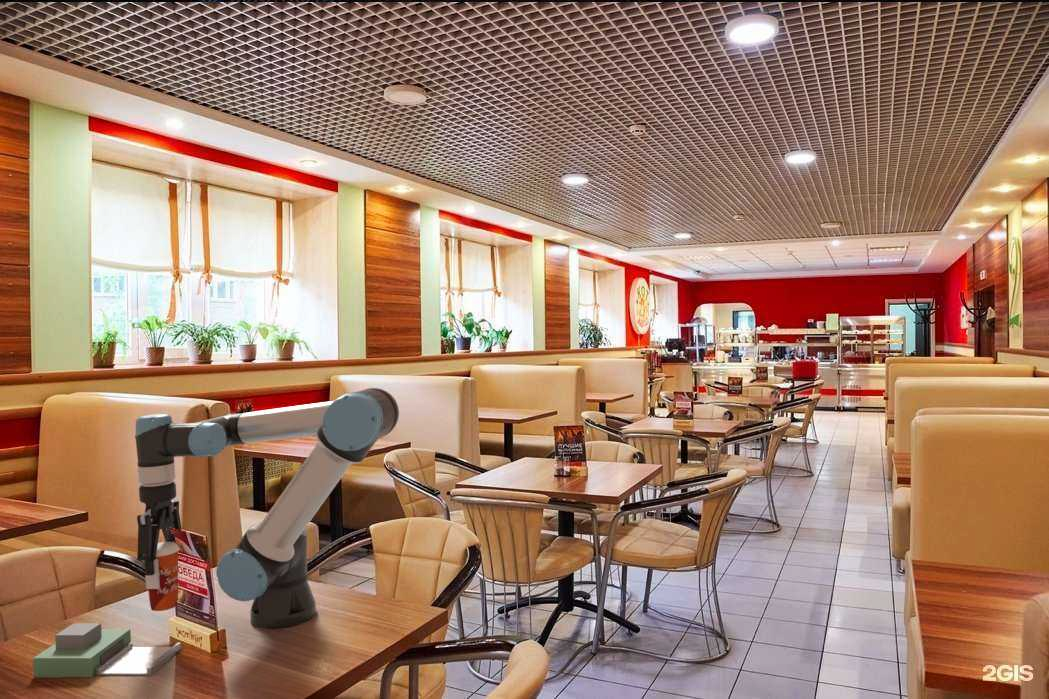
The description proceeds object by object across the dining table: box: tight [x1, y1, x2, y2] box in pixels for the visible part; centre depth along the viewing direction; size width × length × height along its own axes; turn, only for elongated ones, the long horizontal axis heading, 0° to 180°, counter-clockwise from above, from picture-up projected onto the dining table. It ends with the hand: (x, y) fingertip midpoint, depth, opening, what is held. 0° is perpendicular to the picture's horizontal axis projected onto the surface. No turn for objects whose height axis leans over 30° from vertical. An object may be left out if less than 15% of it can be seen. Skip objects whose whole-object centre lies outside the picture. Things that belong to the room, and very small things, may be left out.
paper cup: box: [147, 541, 180, 612], centre depth 168 cm, size 8×8×14 cm
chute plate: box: [94, 642, 182, 676], centre depth 156 cm, size 12×12×1 cm
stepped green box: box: [32, 622, 132, 679], centre depth 156 cm, size 12×14×7 cm
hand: (163, 581), depth 168 cm, fingers closed on paper cup, 8 cm apart
